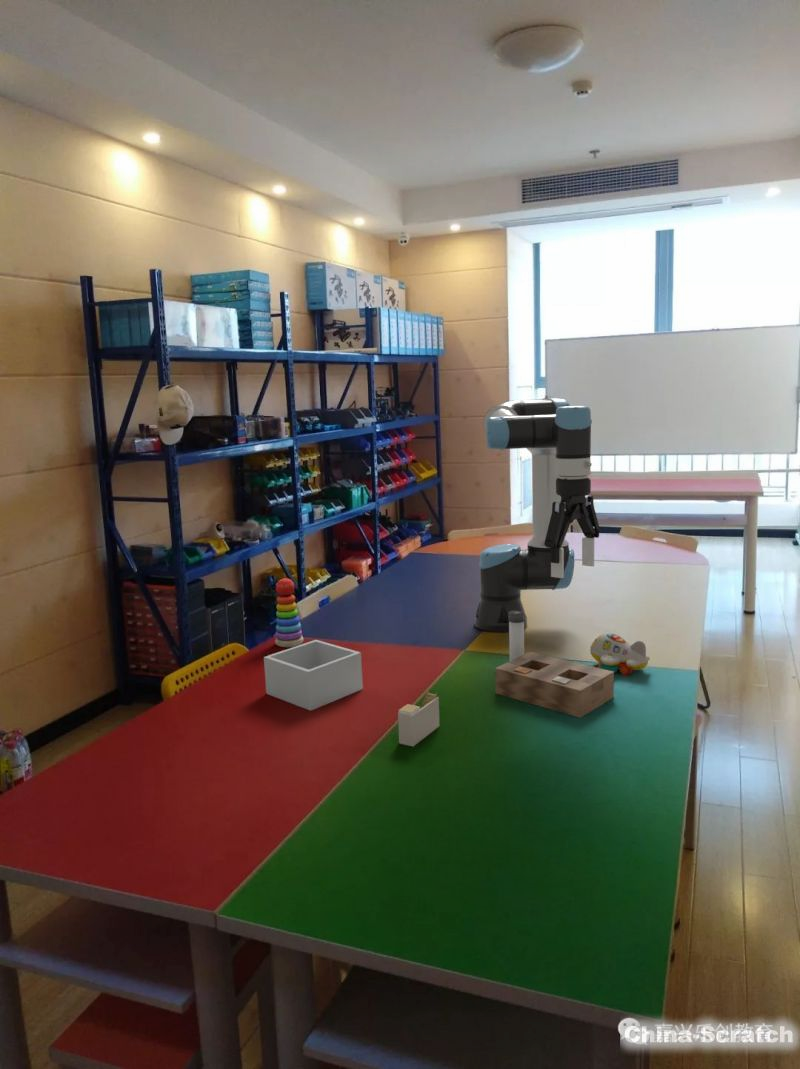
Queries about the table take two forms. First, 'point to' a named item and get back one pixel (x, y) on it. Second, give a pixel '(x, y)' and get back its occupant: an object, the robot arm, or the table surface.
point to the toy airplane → (619, 654)
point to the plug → (516, 634)
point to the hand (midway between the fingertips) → (573, 571)
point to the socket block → (555, 683)
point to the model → (418, 720)
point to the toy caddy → (313, 674)
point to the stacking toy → (287, 616)
